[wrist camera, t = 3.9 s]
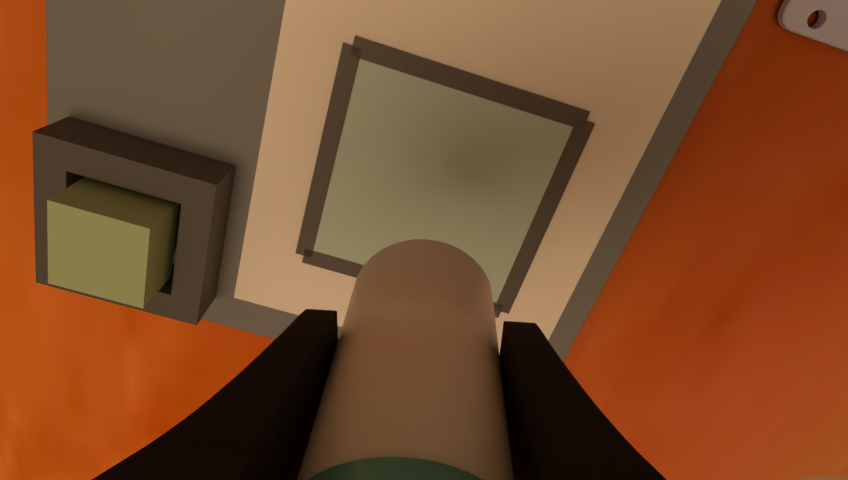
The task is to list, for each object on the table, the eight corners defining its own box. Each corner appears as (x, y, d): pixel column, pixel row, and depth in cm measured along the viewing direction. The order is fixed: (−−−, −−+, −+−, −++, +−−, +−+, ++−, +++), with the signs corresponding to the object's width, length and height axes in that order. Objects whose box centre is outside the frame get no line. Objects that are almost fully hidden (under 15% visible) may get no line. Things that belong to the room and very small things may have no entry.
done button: (179, 202, 18) (150, 228, 17) (171, 276, 20) (143, 308, 18) (86, 175, 18) (46, 199, 16) (84, 253, 20) (48, 283, 18)
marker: (502, 237, 12) (573, 645, 5) (492, 362, 14) (535, 810, 7) (345, 233, 12) (194, 626, 5) (352, 357, 14) (244, 792, 7)
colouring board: (774, -59, 16) (827, -61, 14) (535, 395, 24) (544, 442, 22) (63, -320, 14) (-13, -373, 12) (61, 267, 22) (16, 304, 20)
